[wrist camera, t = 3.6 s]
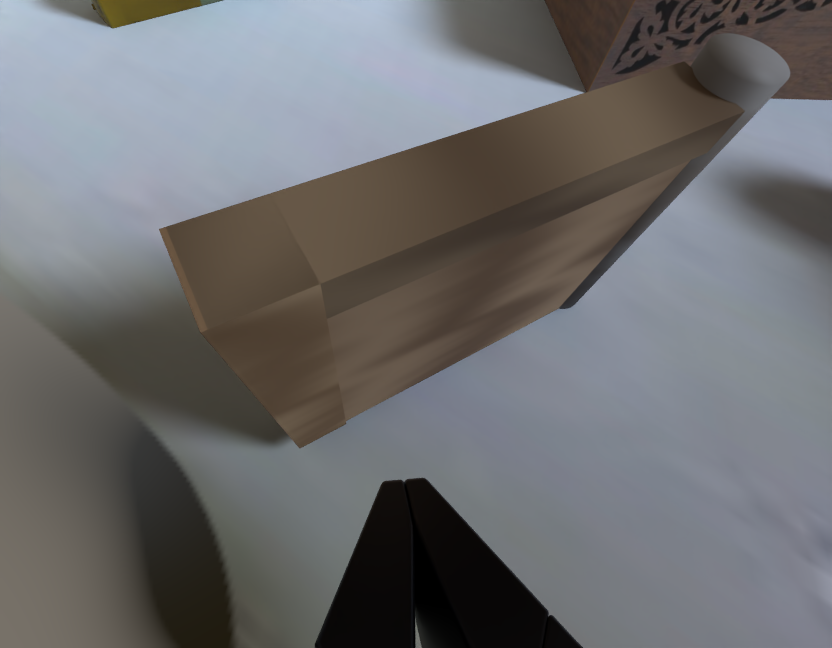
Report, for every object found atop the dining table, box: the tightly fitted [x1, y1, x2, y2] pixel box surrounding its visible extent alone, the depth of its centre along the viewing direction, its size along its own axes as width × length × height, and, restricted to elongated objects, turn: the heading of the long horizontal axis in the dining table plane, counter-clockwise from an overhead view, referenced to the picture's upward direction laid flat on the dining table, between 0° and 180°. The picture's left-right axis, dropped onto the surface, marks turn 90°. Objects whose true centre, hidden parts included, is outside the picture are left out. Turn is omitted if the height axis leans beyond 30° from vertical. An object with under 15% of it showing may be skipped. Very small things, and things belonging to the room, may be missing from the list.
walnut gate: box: [159, 33, 790, 448], centre depth 13 cm, size 14×2×11 cm, turn 120°
